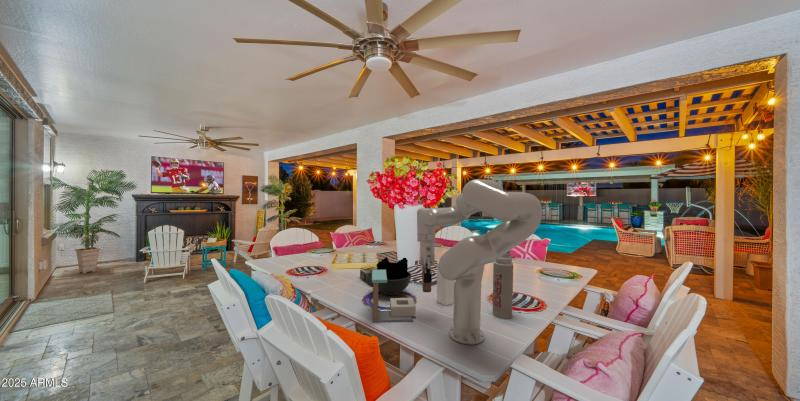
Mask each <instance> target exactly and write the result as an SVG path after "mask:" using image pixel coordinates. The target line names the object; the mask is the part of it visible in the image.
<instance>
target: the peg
mask: <svg viewBox="0 0 800 401" xmlns="http://www.w3.org/2000/svg"><path fill="white" fill-rule="evenodd" d="M421 265H422V266H421V268H422V270H421V277H422V276H423V280H422V292H424V293H431V292H432V282H431V283H424V273H425V272H424V265H423V264H422V263H421ZM426 265H427V264H426ZM426 268H427V267H426Z"/></svg>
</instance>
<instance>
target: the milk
mask: <svg viewBox="0 0 800 401" xmlns="http://www.w3.org/2000/svg"><path fill="white" fill-rule="evenodd" d="M436 264H437V265H436V303H439V304H441V305H443V306H446V307H447V306H449V305H454V285H455V280H447V279H445V278H444V277H443V276H442V275H441V274H440V272H439V269H438V264H439V260H438V261H437V263H436Z"/></svg>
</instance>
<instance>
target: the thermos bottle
mask: <svg viewBox="0 0 800 401" xmlns="http://www.w3.org/2000/svg"><path fill="white" fill-rule="evenodd" d="M510 252H511V250H510V251H509V252H507V253H506V254H504V255H503V256H501V257H500V258H498V259H497V260H495V261H494V262H493V263H492V264H493V269H492V270H493V273H492V274H493V275H492V276H493V277H492V282H493V283H492V315H493V316H494V317H496V318H498V319H506V320H507V319H512V317H513V303H514V302H513V295H514V292H513V291H514V262H513V260H512V259H513V258H512V257H511V256H510Z"/></svg>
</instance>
